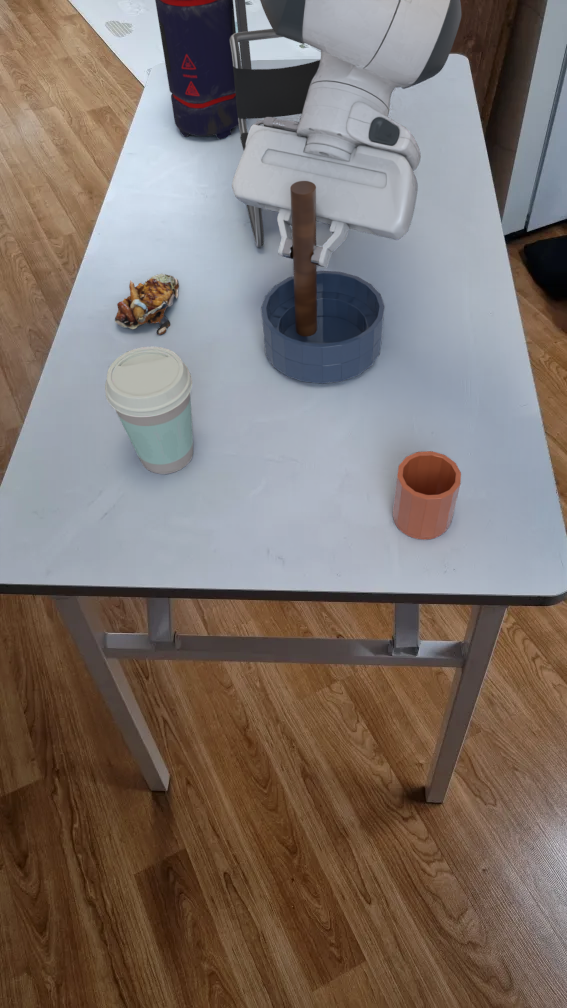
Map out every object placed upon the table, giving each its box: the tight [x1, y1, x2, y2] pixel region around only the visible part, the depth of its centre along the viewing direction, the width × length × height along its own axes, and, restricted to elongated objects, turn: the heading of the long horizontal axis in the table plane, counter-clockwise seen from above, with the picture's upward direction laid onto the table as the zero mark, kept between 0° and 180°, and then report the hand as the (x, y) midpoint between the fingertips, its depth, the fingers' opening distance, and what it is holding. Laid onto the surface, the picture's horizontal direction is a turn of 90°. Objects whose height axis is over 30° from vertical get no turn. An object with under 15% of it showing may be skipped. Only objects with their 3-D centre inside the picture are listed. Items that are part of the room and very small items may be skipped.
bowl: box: [260, 269, 385, 384], centre depth 86 cm, size 14×14×6 cm
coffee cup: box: [104, 345, 194, 475], centre depth 74 cm, size 8×8×12 cm
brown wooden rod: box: [290, 181, 318, 336], centre depth 80 cm, size 3×3×18 cm
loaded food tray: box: [114, 272, 180, 336], centre depth 94 cm, size 7×12×4 cm, turn 173°
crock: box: [392, 450, 462, 541], centre depth 70 cm, size 6×6×6 cm
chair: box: [230, 28, 320, 248], centre depth 98 cm, size 13×17×22 cm
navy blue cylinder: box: [154, 0, 253, 140], centre depth 114 cm, size 14×12×30 cm
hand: (302, 261), depth 79 cm, fingers closed on brown wooden rod, 2 cm apart
